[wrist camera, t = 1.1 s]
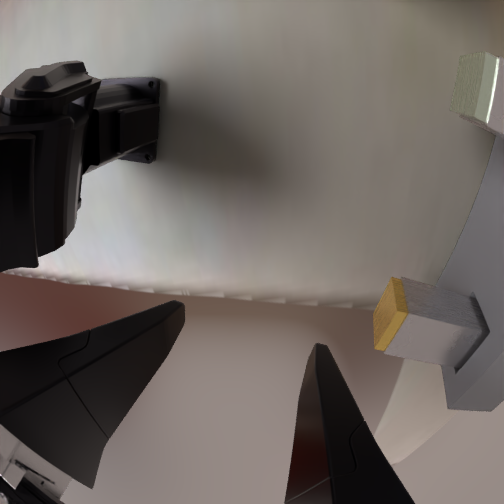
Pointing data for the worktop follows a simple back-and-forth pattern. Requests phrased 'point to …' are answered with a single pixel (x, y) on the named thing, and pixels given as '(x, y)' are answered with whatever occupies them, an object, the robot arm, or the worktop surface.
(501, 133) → the green button
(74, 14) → the worktop surface
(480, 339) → the mustard button
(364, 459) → the robot arm
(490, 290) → the switch panel
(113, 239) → the worktop surface
